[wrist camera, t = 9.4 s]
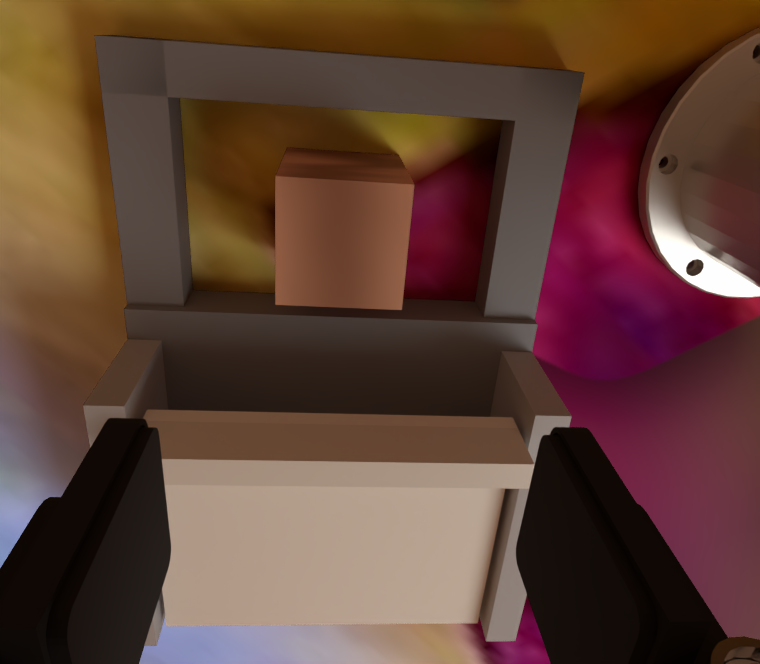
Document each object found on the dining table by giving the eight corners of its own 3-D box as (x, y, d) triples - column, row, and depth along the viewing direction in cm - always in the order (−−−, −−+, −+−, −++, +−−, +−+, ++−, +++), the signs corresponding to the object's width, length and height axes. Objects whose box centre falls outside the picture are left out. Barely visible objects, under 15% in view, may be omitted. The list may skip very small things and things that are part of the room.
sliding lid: (512, 417, 26) (534, 464, 23) (474, 609, 32) (488, 667, 29) (147, 409, 25) (122, 458, 22) (170, 612, 30) (153, 673, 27)
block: (398, 154, 27) (414, 184, 22) (389, 259, 30) (401, 309, 24) (287, 147, 27) (275, 176, 22) (286, 254, 29) (275, 304, 24)
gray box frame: (567, 69, 26) (655, 83, 19) (480, 524, 38) (515, 640, 30) (112, 35, 24) (19, 35, 17) (166, 523, 36) (123, 646, 29)
